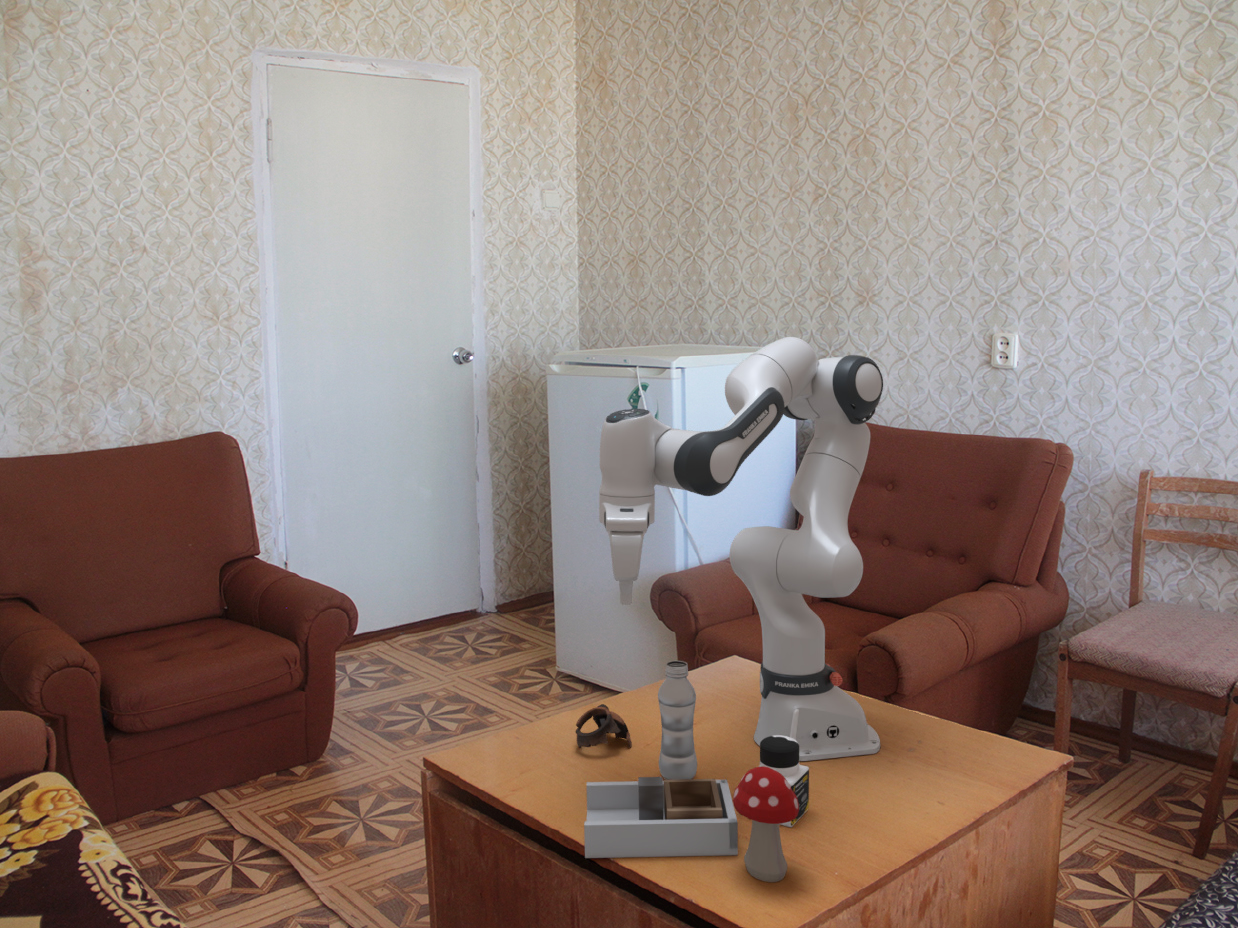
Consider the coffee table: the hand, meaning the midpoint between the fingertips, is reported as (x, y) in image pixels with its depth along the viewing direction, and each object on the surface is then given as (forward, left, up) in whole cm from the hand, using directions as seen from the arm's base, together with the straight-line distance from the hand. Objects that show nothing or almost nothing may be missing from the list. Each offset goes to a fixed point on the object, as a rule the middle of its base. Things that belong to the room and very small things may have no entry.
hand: (626, 596), depth 167 cm
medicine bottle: (-23, +10, -33) cm, 41 cm away
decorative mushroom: (-19, +27, -33) cm, 46 cm away
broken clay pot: (+4, -18, -33) cm, 38 cm away
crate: (-7, +15, -31) cm, 36 cm away
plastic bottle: (-8, -3, -33) cm, 34 cm away
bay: (-4, +15, -33) cm, 36 cm away
